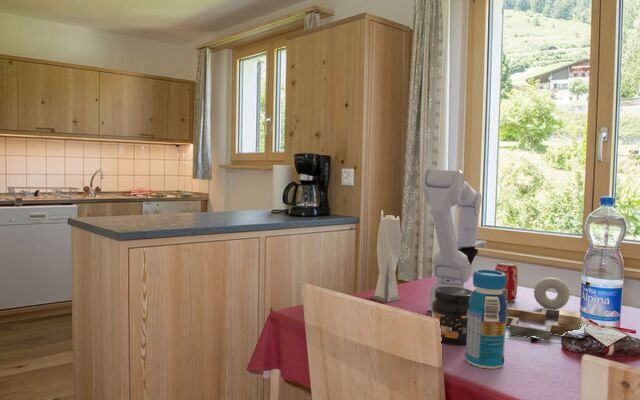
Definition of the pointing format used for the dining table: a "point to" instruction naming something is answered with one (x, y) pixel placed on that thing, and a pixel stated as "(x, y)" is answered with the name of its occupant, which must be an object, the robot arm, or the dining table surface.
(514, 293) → the soda can
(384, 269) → the skyscraper
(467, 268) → the robot arm
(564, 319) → the block
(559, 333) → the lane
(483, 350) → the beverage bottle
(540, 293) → the donut
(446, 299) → the supplement container
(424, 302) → the dining table surface
